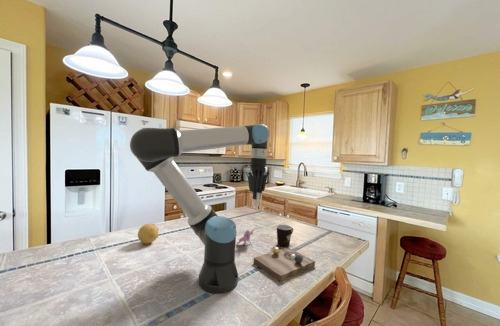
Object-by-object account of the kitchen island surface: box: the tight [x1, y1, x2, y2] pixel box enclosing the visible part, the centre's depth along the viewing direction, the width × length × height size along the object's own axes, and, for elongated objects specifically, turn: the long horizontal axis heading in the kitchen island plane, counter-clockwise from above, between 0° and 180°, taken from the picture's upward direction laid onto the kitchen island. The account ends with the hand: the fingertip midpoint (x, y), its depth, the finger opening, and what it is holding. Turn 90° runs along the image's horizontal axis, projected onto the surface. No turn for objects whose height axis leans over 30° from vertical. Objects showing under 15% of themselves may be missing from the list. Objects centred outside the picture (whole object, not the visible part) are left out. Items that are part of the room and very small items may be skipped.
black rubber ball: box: [295, 255, 302, 263], centre depth 94 cm, size 3×3×3 cm
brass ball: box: [272, 246, 280, 255], centre depth 101 cm, size 3×3×3 cm
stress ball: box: [137, 223, 160, 245], centre depth 112 cm, size 10×10×10 cm
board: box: [253, 247, 316, 283], centre depth 97 cm, size 22×17×2 cm
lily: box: [236, 228, 256, 249], centre depth 115 cm, size 12×12×10 cm
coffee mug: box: [276, 224, 294, 248], centre depth 119 cm, size 12×9×10 cm
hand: (256, 205), depth 104 cm, fingers closed
